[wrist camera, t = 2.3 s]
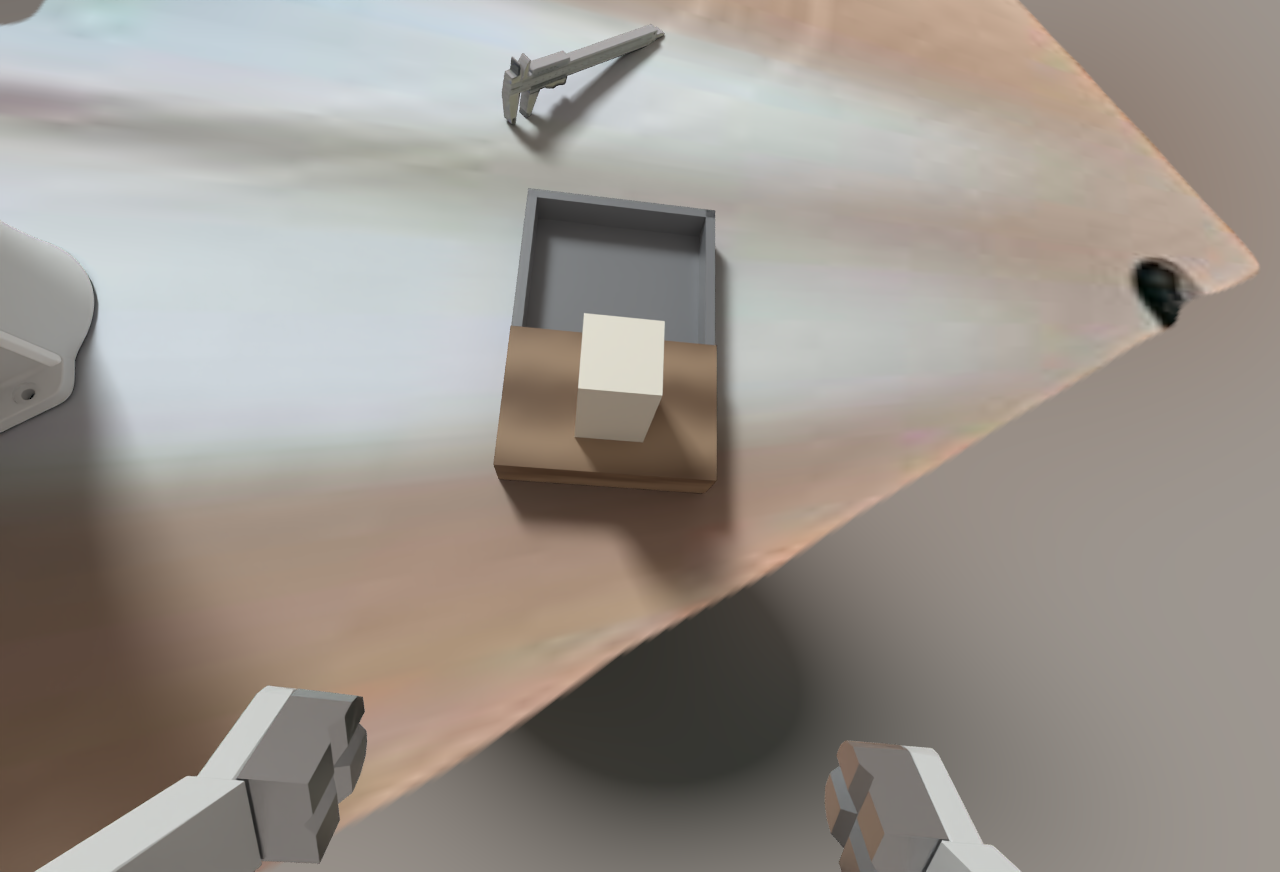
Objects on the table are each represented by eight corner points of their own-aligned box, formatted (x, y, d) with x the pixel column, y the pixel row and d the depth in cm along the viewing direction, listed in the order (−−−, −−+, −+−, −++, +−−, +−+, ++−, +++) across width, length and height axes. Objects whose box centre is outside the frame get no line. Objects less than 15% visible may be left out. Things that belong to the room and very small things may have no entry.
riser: (704, 493, 48) (716, 480, 44) (498, 479, 47) (493, 464, 43) (705, 367, 52) (716, 345, 48) (514, 349, 50) (510, 325, 46)
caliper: (512, 129, 58) (506, 71, 52) (504, 122, 58) (498, 63, 52) (664, 37, 64) (675, -24, 58) (656, 31, 64) (667, -31, 58)
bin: (705, 364, 52) (714, 345, 49) (514, 346, 50) (511, 325, 47) (705, 235, 56) (715, 210, 53) (530, 215, 54) (528, 188, 51)
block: (642, 442, 45) (662, 395, 36) (574, 436, 44) (577, 388, 36) (645, 379, 46) (664, 321, 38) (579, 374, 46) (583, 313, 37)
